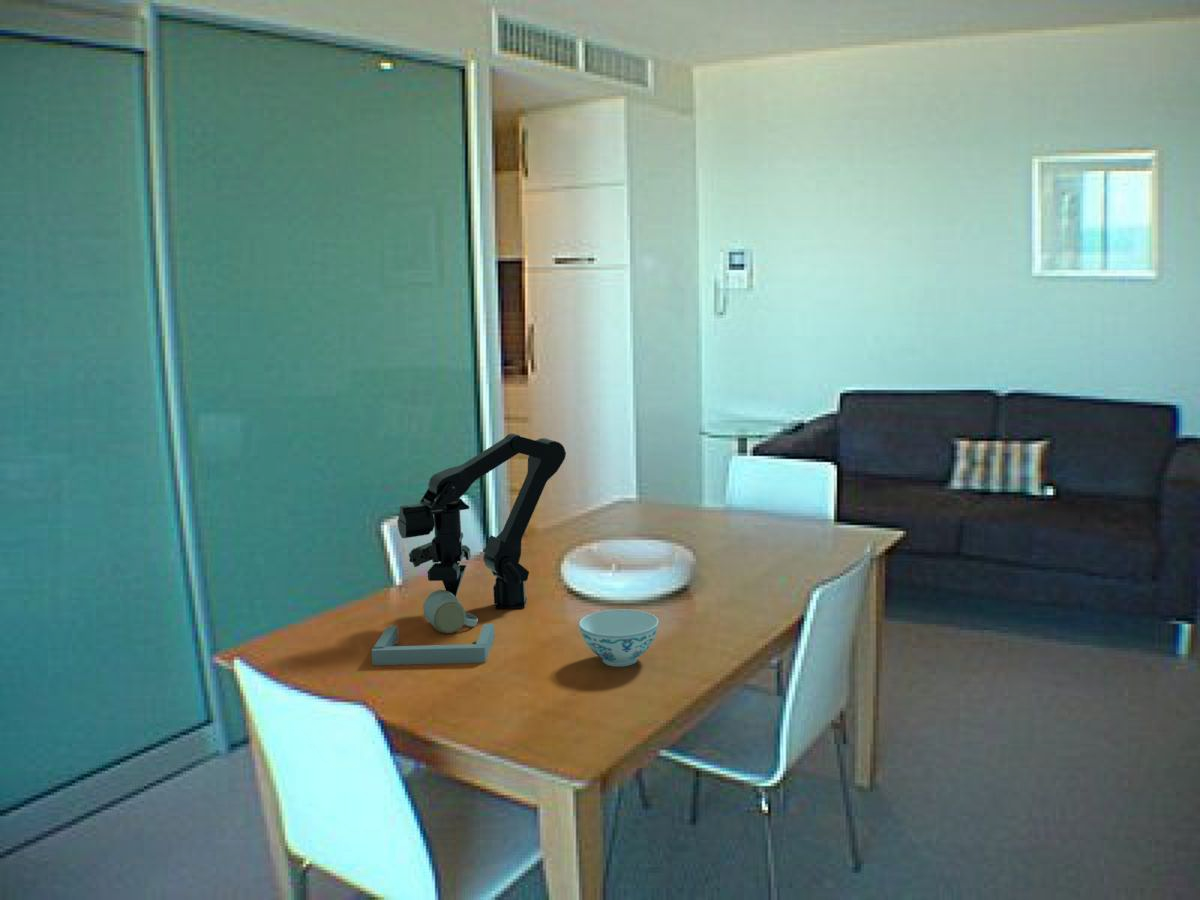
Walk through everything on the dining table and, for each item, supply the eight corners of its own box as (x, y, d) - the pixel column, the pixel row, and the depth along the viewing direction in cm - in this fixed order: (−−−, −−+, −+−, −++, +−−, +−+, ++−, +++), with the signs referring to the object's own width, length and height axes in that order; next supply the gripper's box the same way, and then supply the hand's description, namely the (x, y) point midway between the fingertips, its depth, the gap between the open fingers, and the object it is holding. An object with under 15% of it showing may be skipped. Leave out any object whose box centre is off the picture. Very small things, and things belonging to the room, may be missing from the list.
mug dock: (494, 637, 223) (494, 623, 222) (485, 662, 209) (484, 647, 208) (388, 640, 223) (387, 626, 223) (372, 665, 210) (371, 650, 209)
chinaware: (567, 656, 210) (565, 618, 209) (633, 641, 217) (632, 604, 216) (605, 681, 197) (603, 640, 196) (674, 663, 204) (673, 624, 203)
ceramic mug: (435, 638, 224) (433, 602, 222) (423, 626, 231) (422, 592, 230) (483, 629, 228) (482, 594, 227) (470, 619, 236) (469, 585, 234)
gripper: (419, 522, 244) (424, 588, 246) (401, 543, 225) (406, 615, 228) (468, 520, 243) (472, 587, 246) (454, 542, 225) (458, 614, 227)
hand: (452, 600), depth 237 cm, fingers closed
